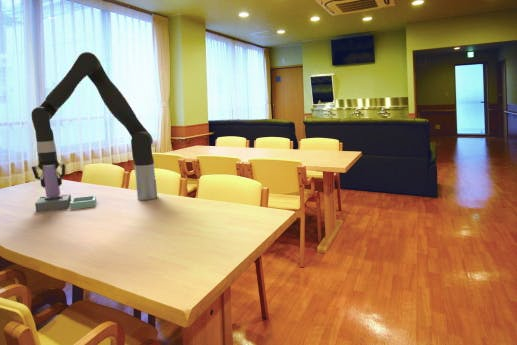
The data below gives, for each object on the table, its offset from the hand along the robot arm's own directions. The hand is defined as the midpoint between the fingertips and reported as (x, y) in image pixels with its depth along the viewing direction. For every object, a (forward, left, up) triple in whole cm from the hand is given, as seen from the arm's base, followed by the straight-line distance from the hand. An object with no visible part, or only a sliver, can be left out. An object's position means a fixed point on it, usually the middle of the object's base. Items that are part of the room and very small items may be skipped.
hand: (51, 186), depth 171 cm
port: (0, 0, -10) cm, 10 cm away
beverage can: (0, 0, -5) cm, 5 cm away
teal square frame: (-13, +4, -10) cm, 17 cm away
